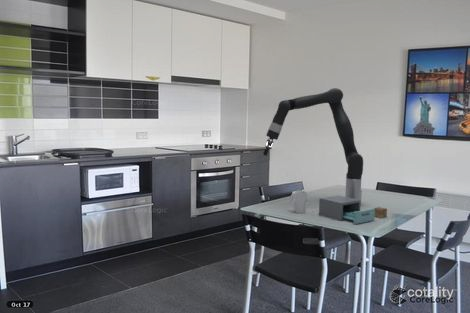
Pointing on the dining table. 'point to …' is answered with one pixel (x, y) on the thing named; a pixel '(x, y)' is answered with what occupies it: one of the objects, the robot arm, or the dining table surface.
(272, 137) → the robot arm
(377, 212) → the walnut block
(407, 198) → the dining table surface
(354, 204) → the grey drawer box
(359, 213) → the teal drawer
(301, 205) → the mug
